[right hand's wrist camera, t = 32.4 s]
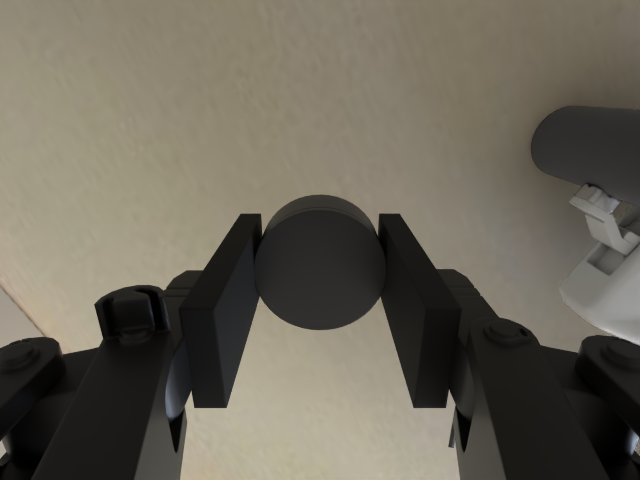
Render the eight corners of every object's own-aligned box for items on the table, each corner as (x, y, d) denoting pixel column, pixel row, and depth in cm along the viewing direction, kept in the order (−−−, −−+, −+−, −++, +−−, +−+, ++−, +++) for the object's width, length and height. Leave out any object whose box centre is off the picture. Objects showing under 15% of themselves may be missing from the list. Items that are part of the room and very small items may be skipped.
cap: (402, 232, 14) (414, 253, 12) (338, 319, 15) (341, 349, 13) (298, 171, 13) (294, 183, 11) (241, 269, 14) (230, 294, 13)
